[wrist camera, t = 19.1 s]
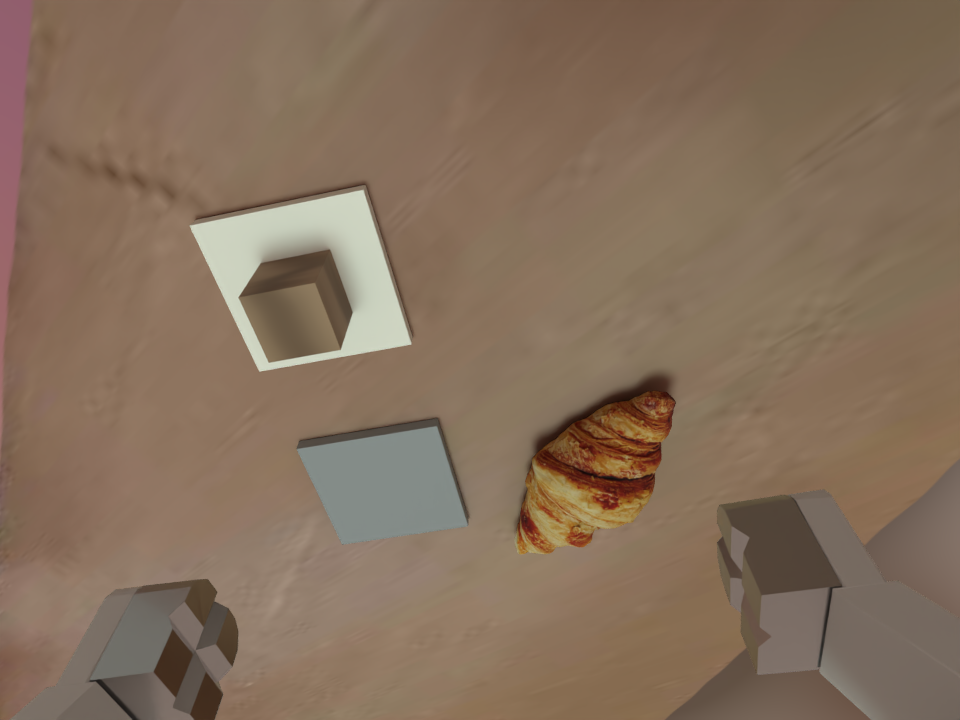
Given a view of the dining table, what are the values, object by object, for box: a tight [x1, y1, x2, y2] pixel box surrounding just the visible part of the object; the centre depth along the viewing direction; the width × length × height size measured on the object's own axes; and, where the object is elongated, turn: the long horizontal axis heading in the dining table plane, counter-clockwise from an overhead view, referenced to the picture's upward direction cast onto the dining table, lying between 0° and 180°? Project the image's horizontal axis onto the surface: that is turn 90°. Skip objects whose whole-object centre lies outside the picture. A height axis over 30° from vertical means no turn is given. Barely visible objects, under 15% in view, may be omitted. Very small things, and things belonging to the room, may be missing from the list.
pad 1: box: [190, 185, 413, 372], centre depth 46 cm, size 12×12×1 cm
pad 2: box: [297, 418, 468, 545], centre depth 57 cm, size 12×12×1 cm
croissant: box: [515, 391, 676, 554], centre depth 54 cm, size 21×10×8 cm, turn 151°
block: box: [238, 250, 353, 363], centre depth 43 cm, size 5×5×5 cm
